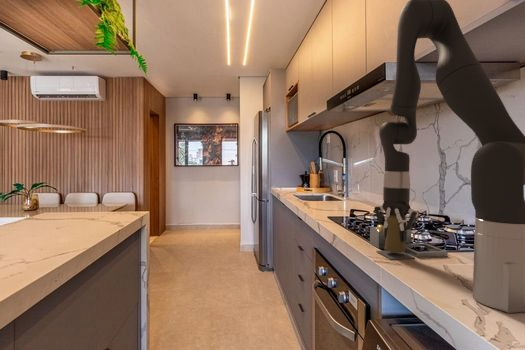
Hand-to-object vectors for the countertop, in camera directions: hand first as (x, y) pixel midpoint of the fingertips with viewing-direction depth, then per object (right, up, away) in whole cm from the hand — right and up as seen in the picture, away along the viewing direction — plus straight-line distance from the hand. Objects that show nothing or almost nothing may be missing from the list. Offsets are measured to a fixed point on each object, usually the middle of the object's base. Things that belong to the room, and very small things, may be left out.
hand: (395, 240), depth 95 cm
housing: (+6, -4, +7) cm, 10 cm away
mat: (0, -5, 0) cm, 5 cm away
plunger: (0, -2, +11) cm, 12 cm away
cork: (0, -3, 0) cm, 3 cm away
